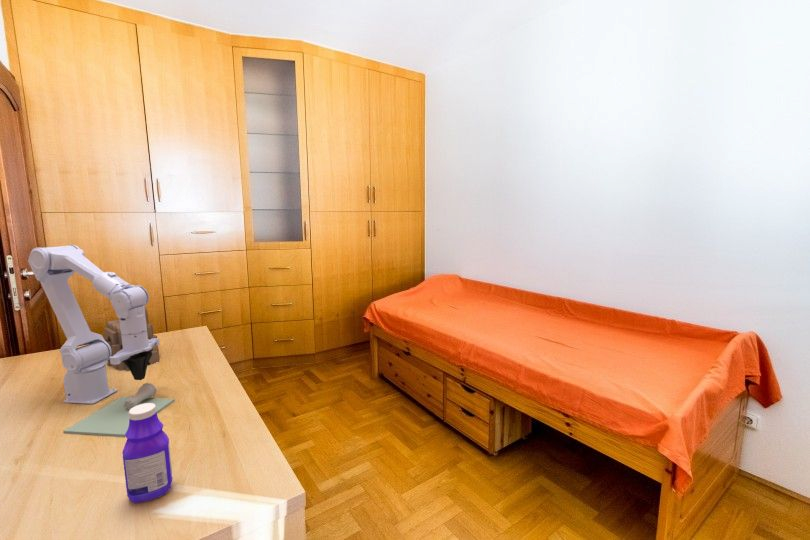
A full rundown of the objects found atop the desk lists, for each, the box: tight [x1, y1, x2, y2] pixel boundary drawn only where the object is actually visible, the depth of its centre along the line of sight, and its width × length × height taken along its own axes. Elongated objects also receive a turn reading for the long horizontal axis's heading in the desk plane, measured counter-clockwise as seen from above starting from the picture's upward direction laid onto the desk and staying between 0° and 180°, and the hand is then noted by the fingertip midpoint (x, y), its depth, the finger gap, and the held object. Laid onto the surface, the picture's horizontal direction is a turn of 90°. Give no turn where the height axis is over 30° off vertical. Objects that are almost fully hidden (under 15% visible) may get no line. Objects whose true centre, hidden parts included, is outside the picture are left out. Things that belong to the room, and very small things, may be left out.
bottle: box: [122, 403, 174, 504], centre depth 70 cm, size 7×6×17 cm
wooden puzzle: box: [103, 306, 160, 372], centre depth 134 cm, size 22×15×19 cm, turn 53°
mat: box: [62, 396, 176, 438], centre depth 98 cm, size 16×17×1 cm
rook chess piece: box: [124, 382, 157, 410], centre depth 103 cm, size 4×4×8 cm
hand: (139, 378), depth 103 cm, fingers closed
